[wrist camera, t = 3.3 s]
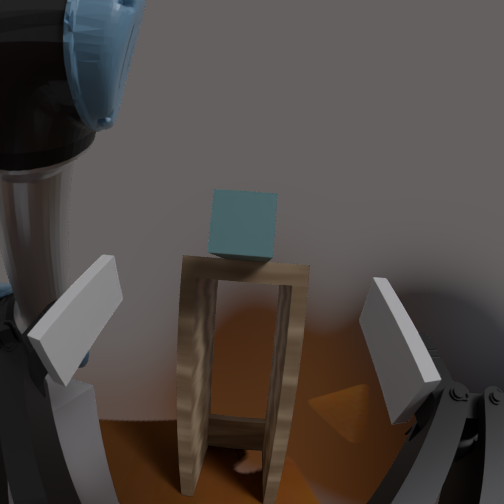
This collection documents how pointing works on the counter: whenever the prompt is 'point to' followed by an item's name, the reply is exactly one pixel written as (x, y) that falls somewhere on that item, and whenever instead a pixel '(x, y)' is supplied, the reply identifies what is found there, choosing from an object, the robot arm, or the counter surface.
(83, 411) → the stone block
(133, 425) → the counter surface
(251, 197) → the teal block
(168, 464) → the counter surface
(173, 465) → the counter surface
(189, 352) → the wooden stool frame
